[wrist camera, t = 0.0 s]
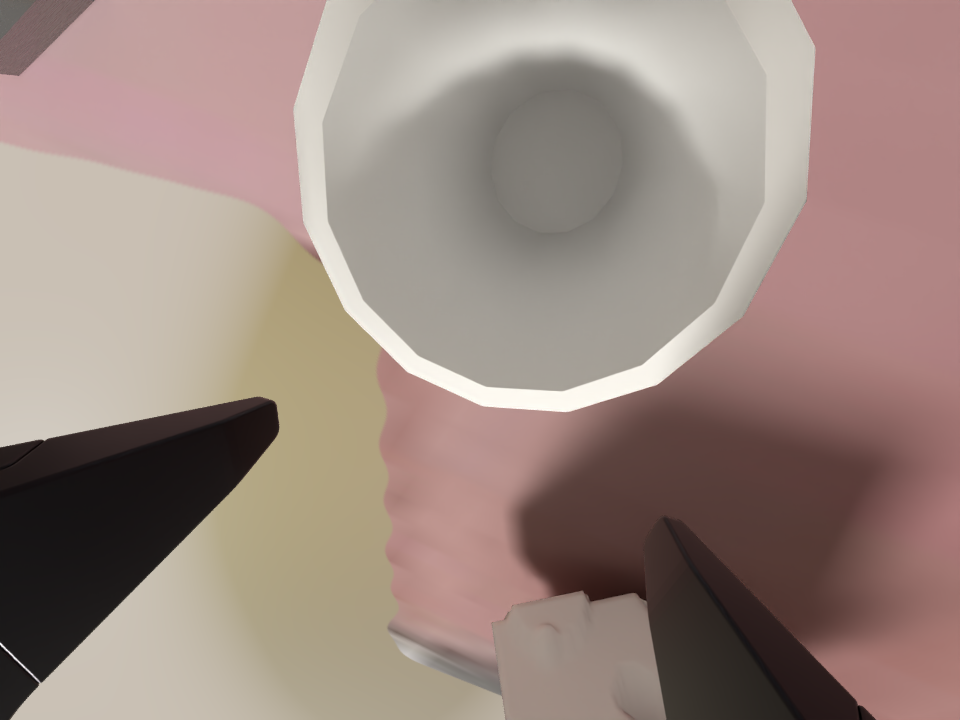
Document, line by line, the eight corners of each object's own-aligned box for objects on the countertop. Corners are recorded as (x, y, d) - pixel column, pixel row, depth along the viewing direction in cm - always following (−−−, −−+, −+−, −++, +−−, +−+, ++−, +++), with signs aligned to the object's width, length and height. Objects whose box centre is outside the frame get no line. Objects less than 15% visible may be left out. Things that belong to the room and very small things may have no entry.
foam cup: (433, 87, 18) (204, 15, 7) (649, -5, 15) (840, -382, 4) (490, 282, 22) (402, 430, 11) (670, 240, 19) (795, 386, 8)
